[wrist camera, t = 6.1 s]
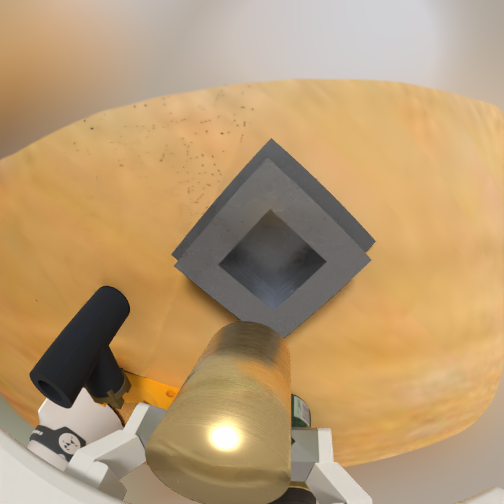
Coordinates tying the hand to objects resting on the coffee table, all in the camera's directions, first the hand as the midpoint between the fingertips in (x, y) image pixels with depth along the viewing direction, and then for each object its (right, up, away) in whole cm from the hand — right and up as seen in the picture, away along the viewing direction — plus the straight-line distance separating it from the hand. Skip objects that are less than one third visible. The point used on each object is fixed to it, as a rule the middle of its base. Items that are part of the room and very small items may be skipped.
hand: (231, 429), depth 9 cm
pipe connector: (-16, -2, +24) cm, 29 cm away
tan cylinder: (+1, +1, +5) cm, 5 cm away
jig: (+3, +7, +19) cm, 20 cm away
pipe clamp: (-15, -13, +28) cm, 34 cm away
